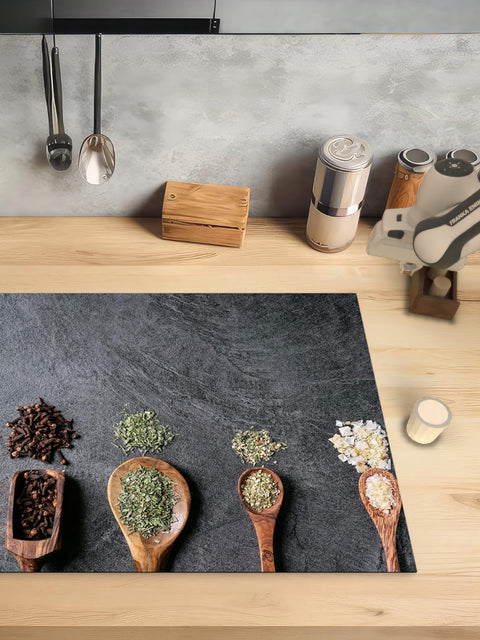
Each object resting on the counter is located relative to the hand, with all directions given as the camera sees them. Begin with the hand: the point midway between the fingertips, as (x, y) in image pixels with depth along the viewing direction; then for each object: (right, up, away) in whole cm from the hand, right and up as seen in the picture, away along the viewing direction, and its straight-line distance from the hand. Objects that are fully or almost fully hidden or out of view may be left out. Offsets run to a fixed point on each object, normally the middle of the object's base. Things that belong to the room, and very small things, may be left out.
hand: (405, 273), depth 161 cm
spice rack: (+6, -3, +2) cm, 7 cm away
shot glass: (-5, -33, -19) cm, 39 cm away
